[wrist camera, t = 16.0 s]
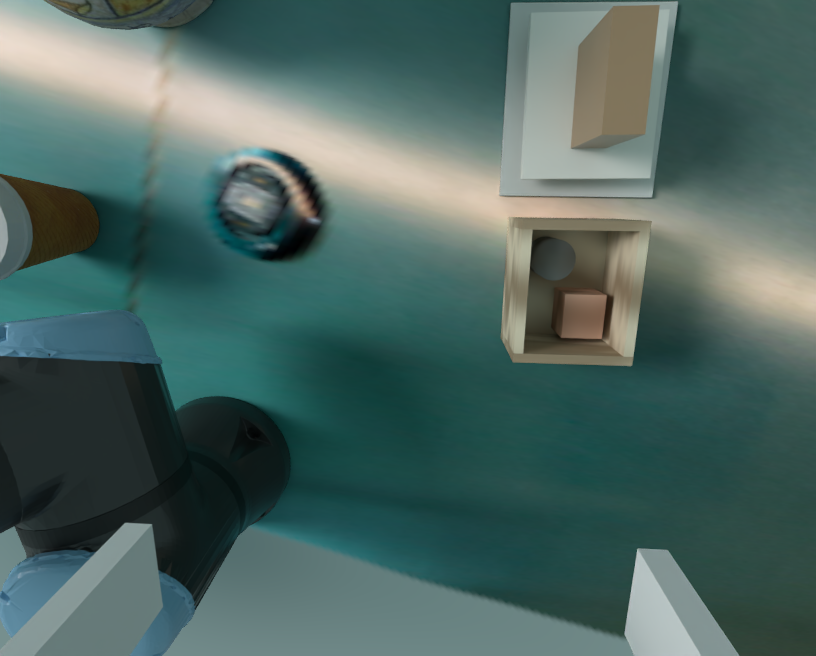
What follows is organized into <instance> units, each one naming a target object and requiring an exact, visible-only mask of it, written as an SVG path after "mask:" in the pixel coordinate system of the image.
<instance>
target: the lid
mask: <svg viewBox="0 0 816 656" xmlns="http://www.w3.org/2000/svg"><path fill="white" fill-rule="evenodd" d="M659 7H660V5H639V6H613V7H612V8H611V9H610V10H609V11H579V12H537V13H531V14H530V16H529V27H528V46H527V64H526V83H525V102H524V121H523V140H522V158H521V177H520V180H536V179H649V178H650V175H651V166H652V157H653V149H654V140H655V132H656V123H657V114H658V106H659V97H660V89H661V80H662V71H663V63H664V54H665V45H666V37H667V28H668V20H669V11H670V9H664V10H659Z"/></svg>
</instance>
